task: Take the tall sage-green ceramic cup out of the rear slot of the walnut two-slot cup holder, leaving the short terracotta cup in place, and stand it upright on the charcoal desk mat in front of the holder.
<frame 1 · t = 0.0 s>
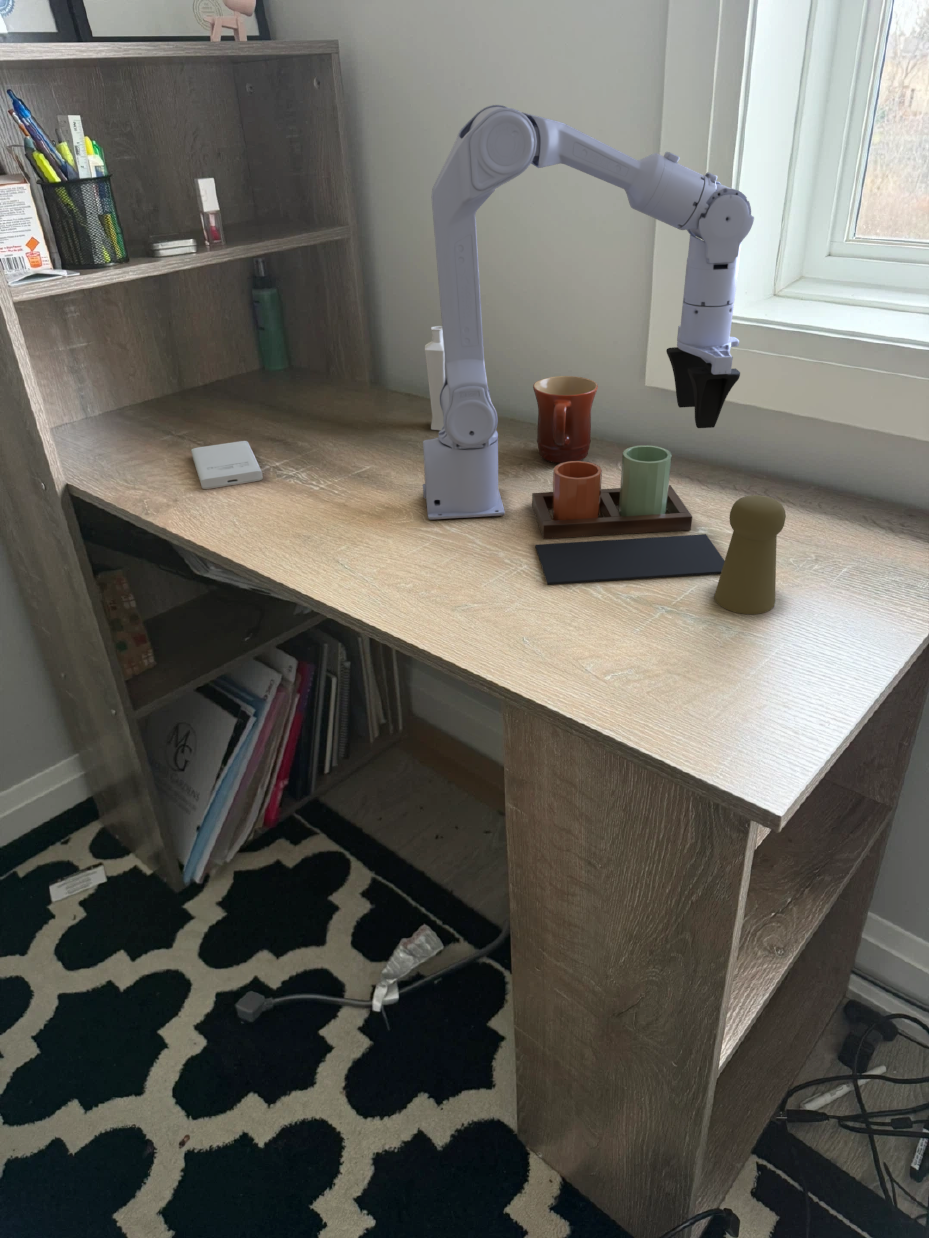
hand: (695, 416, 110), 10 cm above the table, tool pointing down, fingers open, 7 cm apart
holder: (608, 517, 109), on the table
desk mat: (630, 559, 100), on the table
mug: (561, 462, 125), on the table
olive pepper mill: (744, 600, 92), on the table
cup: (642, 515, 110), resting in holder
terracotta cup: (575, 519, 109), resting in holder
perfume bottle: (441, 427, 139), on the table
hard drive: (227, 470, 126), on the table
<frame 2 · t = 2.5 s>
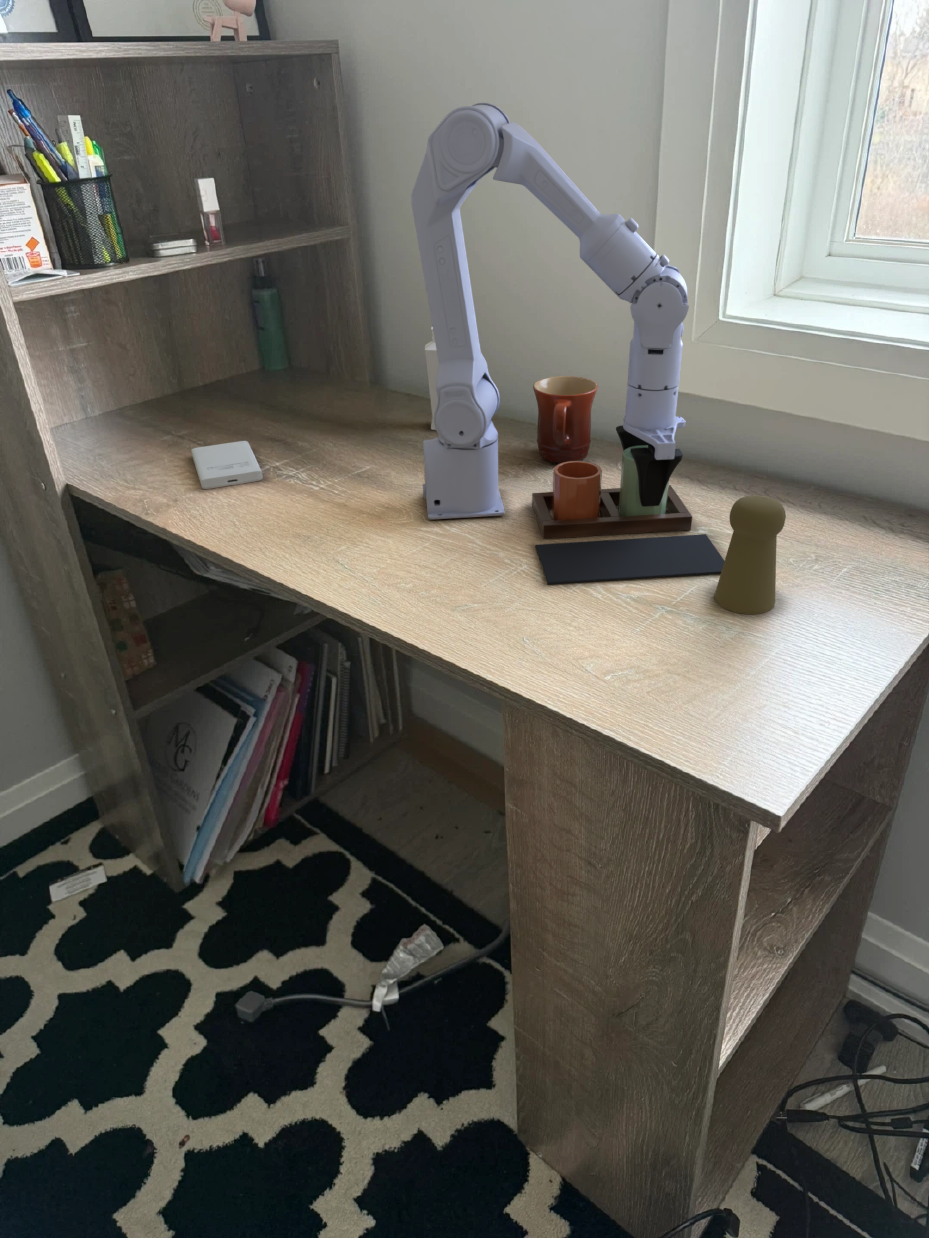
hand: (643, 494, 108), 3 cm above the table, tool pointing down, fingers closed on cup, 5 cm apart
cup: (641, 515, 110), resting in holder, touching gripper
everything else where it was.
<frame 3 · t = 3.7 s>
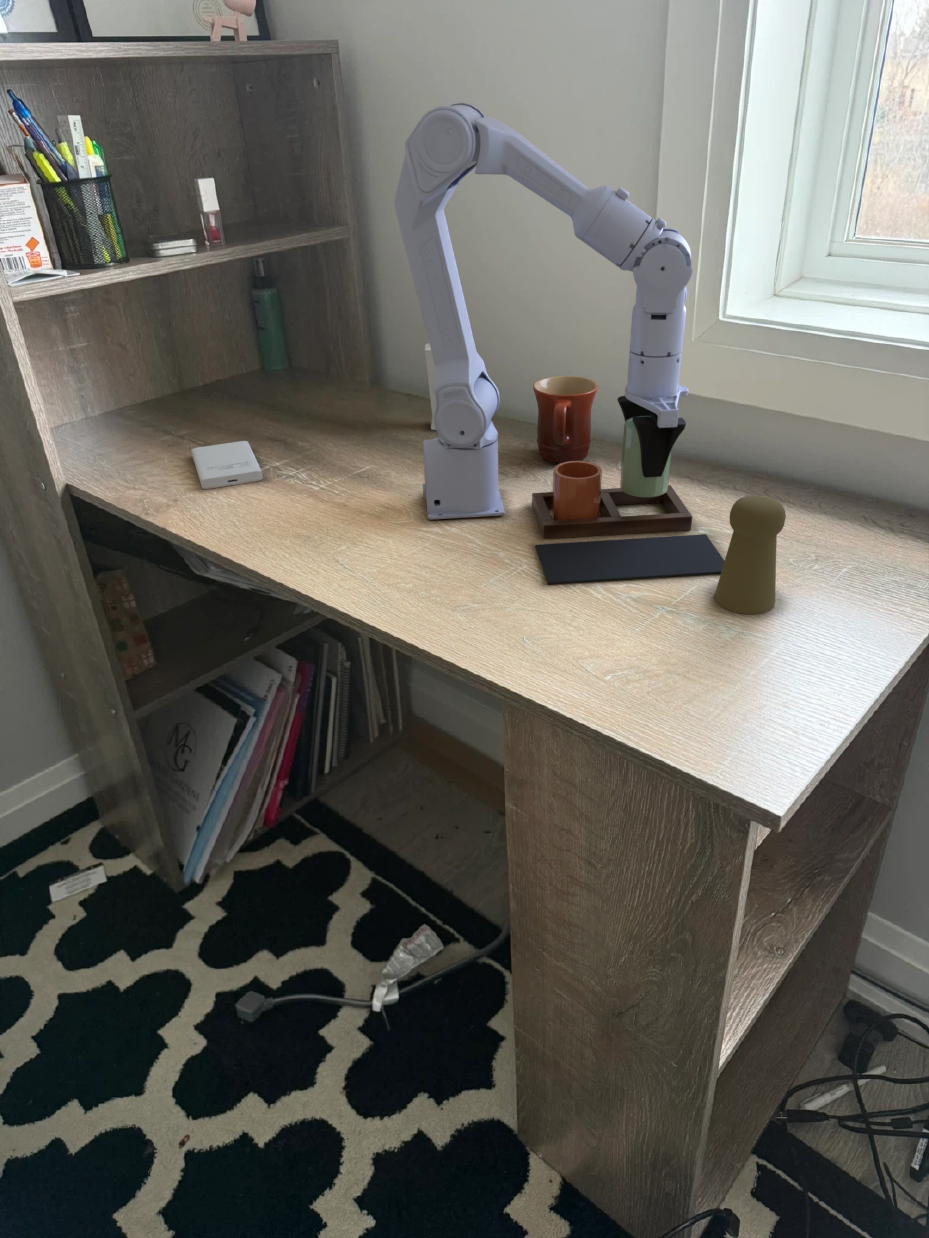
hand: (645, 466, 106), 6 cm above the table, tool pointing down, fingers closed on cup, 5 cm apart
cup: (643, 488, 108), point 4 cm above the table, touching gripper
everything else where it was.
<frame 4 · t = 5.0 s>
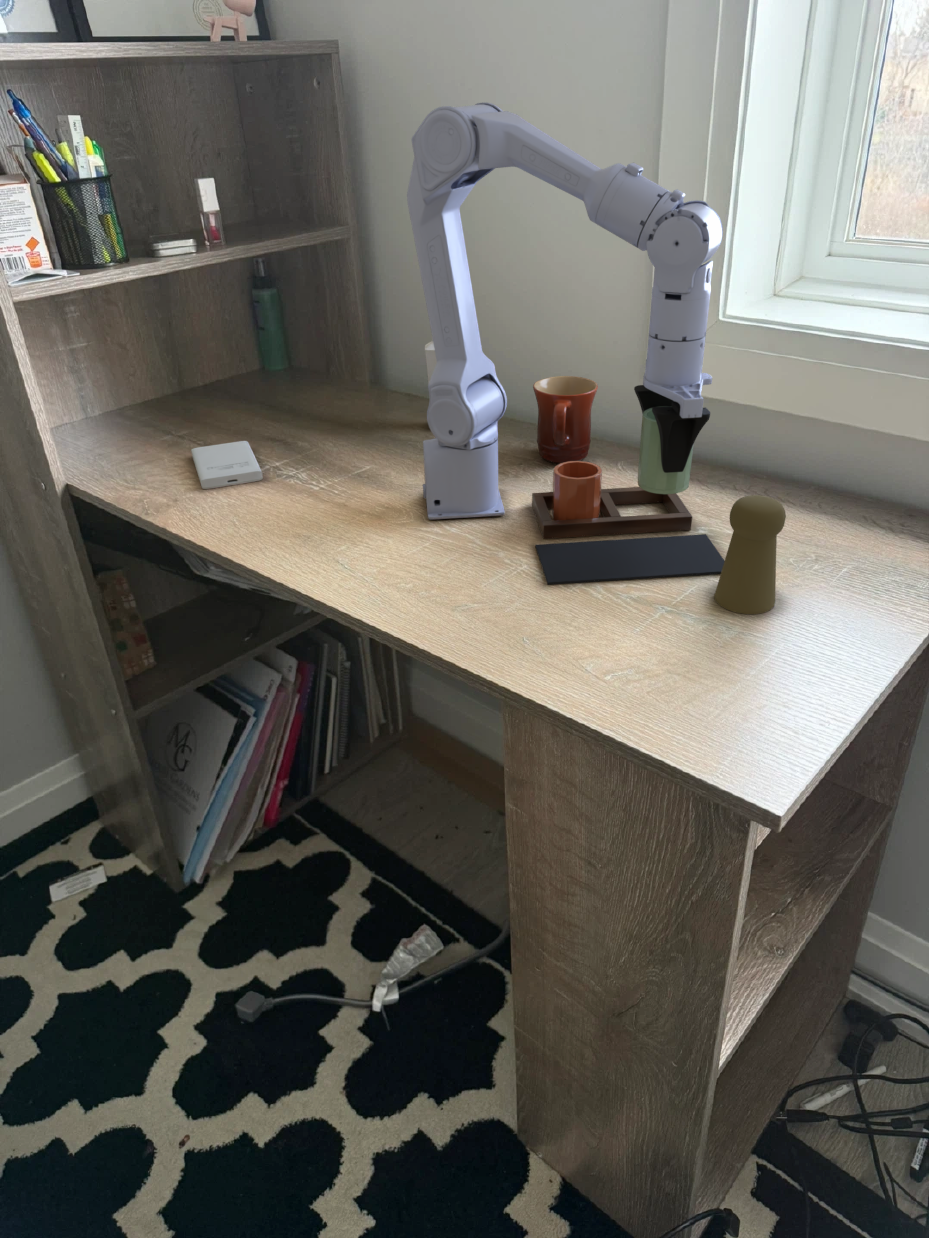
hand: (665, 460, 98), 10 cm above the table, tool pointing down, fingers closed on cup, 5 cm apart
cup: (663, 484, 100), point 7 cm above the table, touching gripper
everything else where it was.
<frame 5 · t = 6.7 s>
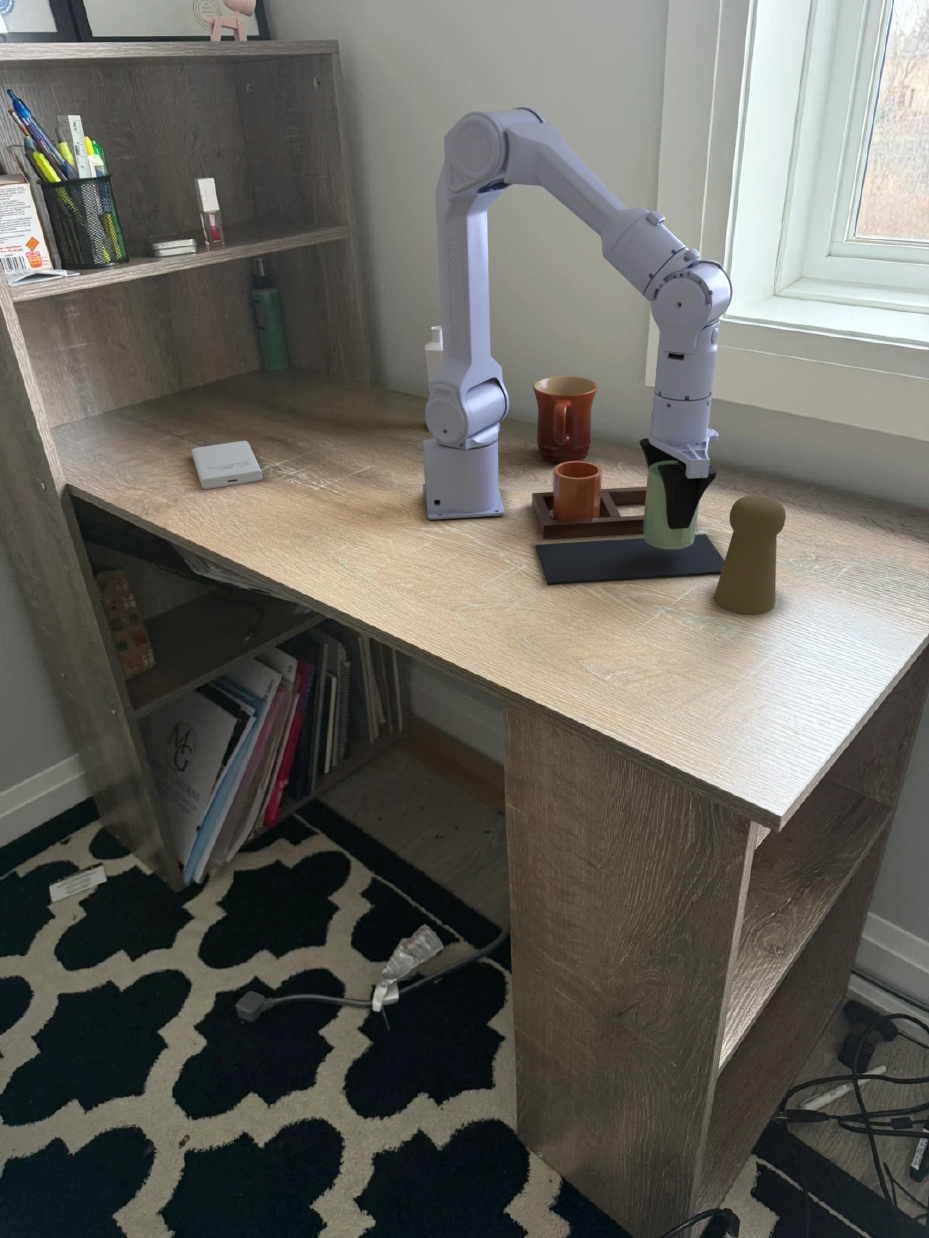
hand: (670, 515, 97), 5 cm above the table, tool pointing down, fingers closed on cup, 5 cm apart
cup: (668, 538, 99), point 2 cm above the table, touching gripper
everything else where it was.
when the fingers open (3 cm above the table, at t = 8.0 s): cup stays where it is, resting on desk mat.
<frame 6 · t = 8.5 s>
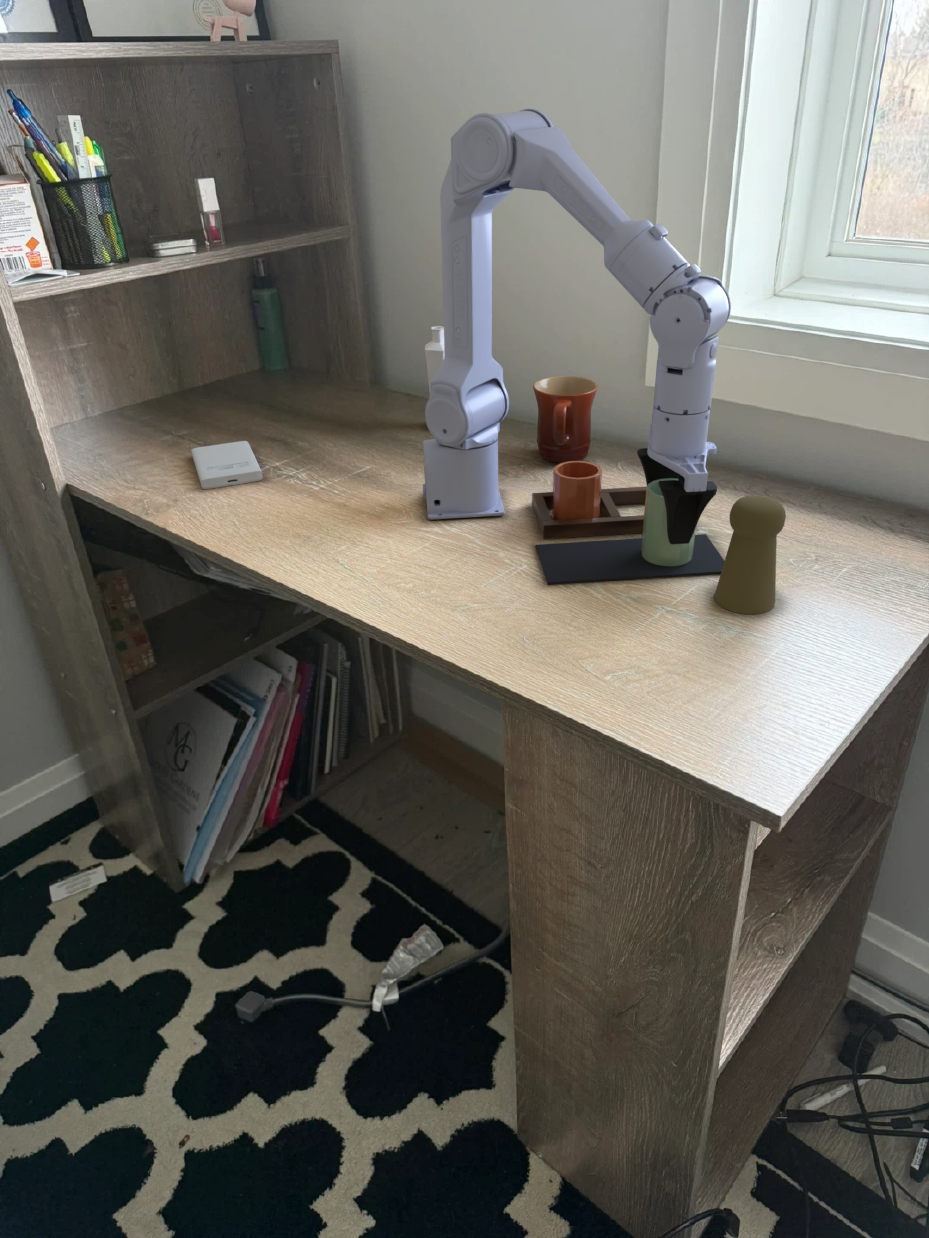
hand: (669, 526, 98), 4 cm above the table, tool pointing down, fingers open, 7 cm apart
cup: (666, 554, 100), resting on desk mat
everything else where it was.
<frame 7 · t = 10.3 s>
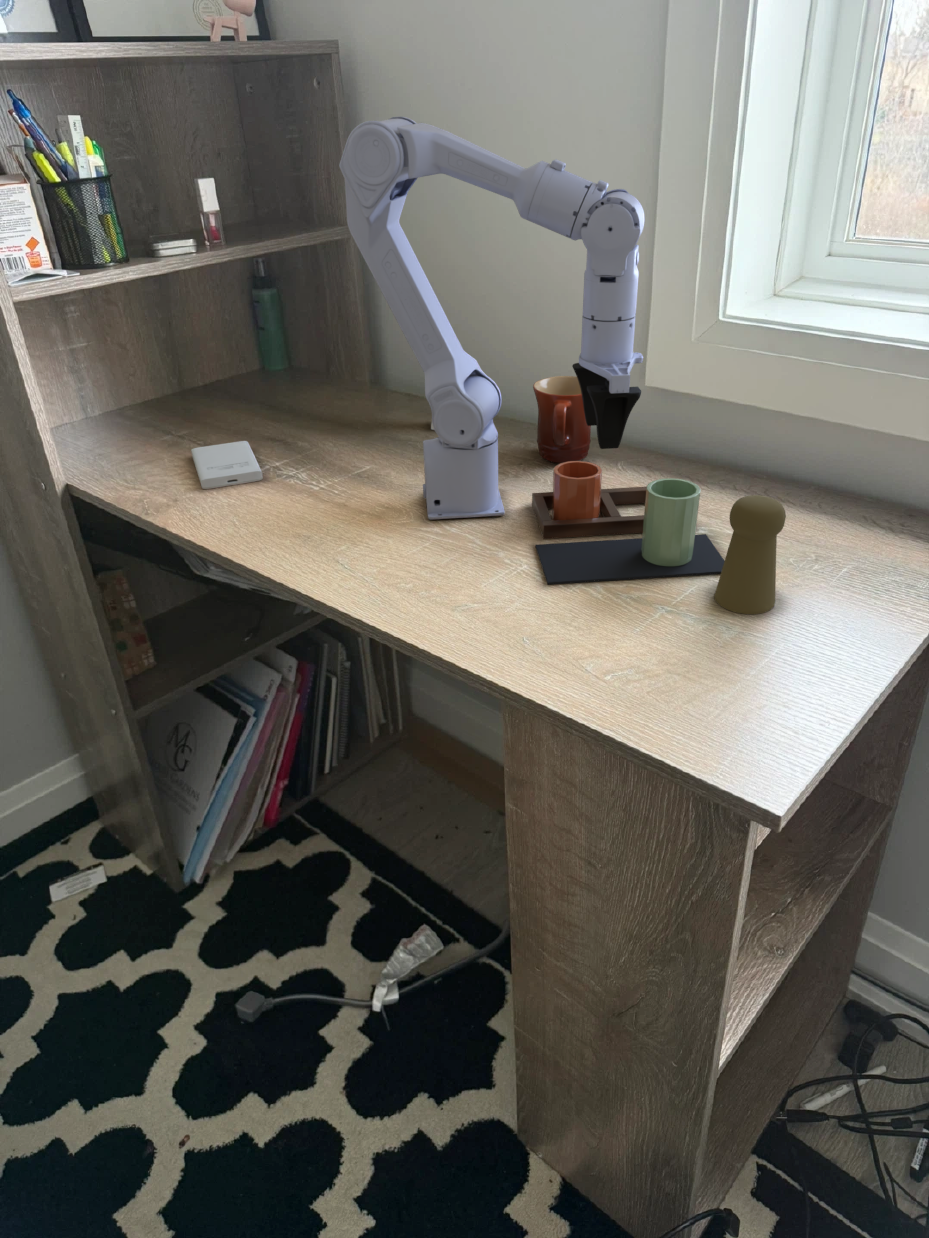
hand: (601, 435, 104), 10 cm above the table, tool pointing down, fingers open, 7 cm apart
nothing on the table moved.
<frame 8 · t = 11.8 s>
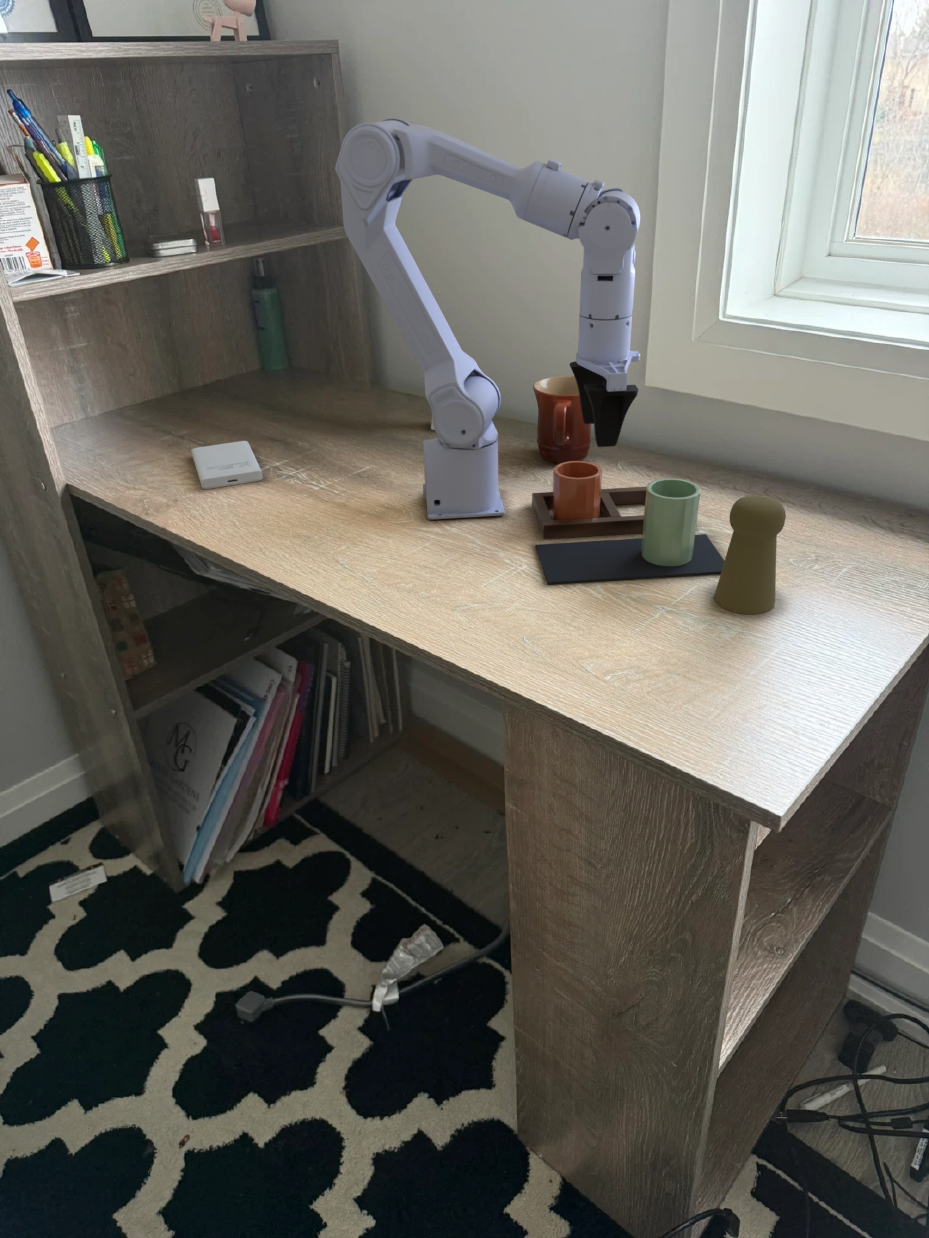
hand: (599, 434, 105), 10 cm above the table, tool pointing down, fingers open, 7 cm apart
nothing on the table moved.
at the end: cup inside the target area (0.1 cm from its centre), resting on desk mat; cup tilted 0°; the gripper is holding nothing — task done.
